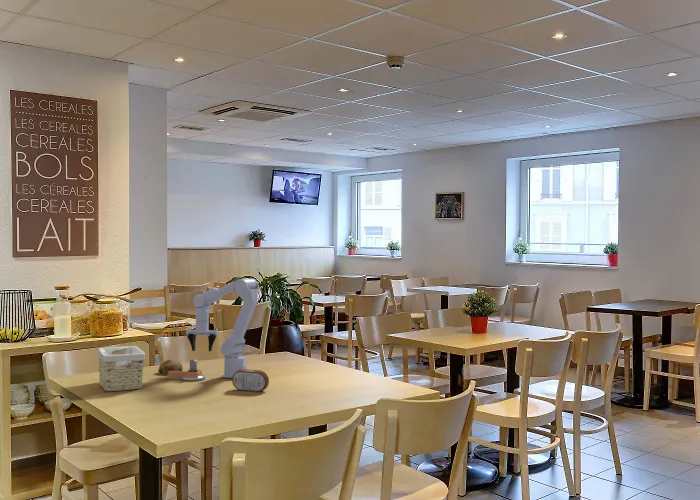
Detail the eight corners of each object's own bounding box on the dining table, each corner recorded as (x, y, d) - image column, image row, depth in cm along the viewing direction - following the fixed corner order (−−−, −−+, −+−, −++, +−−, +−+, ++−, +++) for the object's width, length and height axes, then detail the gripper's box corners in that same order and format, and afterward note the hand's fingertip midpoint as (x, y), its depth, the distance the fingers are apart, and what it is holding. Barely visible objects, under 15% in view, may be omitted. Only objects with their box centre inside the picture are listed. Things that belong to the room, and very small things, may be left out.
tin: (269, 391, 262) (269, 370, 262) (266, 393, 259) (266, 371, 259) (234, 388, 266) (234, 368, 266) (230, 390, 263) (231, 369, 263)
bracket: (202, 377, 287) (202, 370, 287) (197, 380, 282) (197, 372, 282) (171, 376, 289) (171, 369, 289) (166, 379, 283) (166, 371, 283)
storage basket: (96, 382, 278) (97, 346, 278) (136, 379, 285) (137, 344, 285) (102, 393, 256) (102, 355, 256) (145, 390, 263) (146, 353, 263)
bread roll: (174, 383, 293) (182, 367, 293) (153, 373, 293) (161, 357, 293) (180, 379, 303) (188, 363, 303) (160, 369, 303) (168, 353, 303)
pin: (197, 375, 286) (198, 359, 286) (195, 377, 283) (195, 360, 283) (191, 375, 286) (191, 359, 286) (188, 376, 283) (188, 360, 283)
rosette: (208, 377, 289) (208, 374, 289) (200, 381, 279) (200, 378, 279) (186, 376, 290) (186, 373, 290) (177, 381, 280) (177, 378, 280)
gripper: (183, 321, 296) (183, 351, 296) (215, 322, 294) (214, 352, 294) (189, 319, 303) (188, 349, 303) (219, 320, 301) (219, 350, 301)
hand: (201, 350), depth 299 cm, fingers open, 7 cm apart
